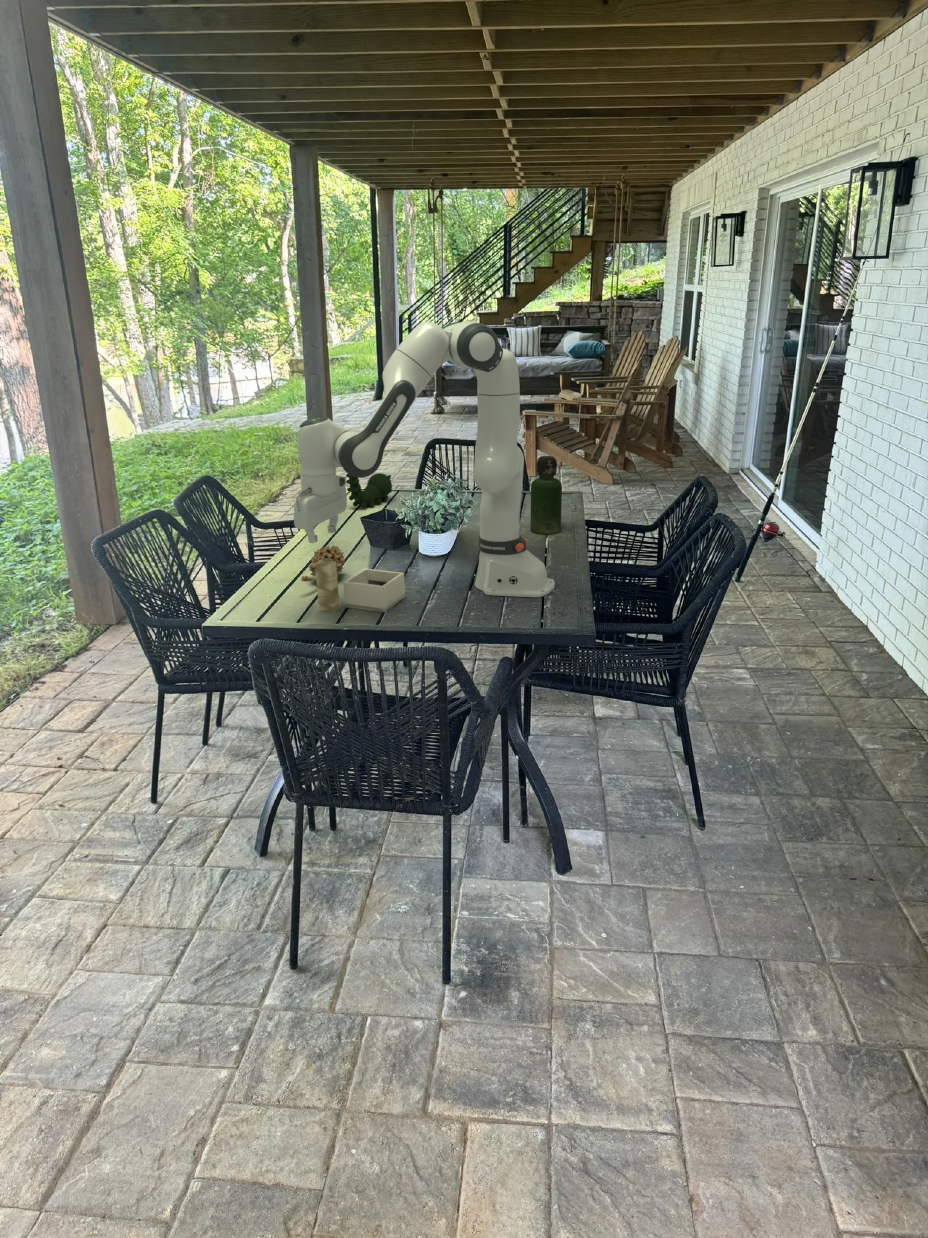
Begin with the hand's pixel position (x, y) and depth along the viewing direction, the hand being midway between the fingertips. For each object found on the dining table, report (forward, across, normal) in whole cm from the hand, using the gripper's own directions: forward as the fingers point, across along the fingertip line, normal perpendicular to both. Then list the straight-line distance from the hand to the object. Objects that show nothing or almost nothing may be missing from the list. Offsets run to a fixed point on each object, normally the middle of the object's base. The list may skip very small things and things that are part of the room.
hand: (322, 537), depth 221 cm
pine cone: (+20, +17, +12) cm, 29 cm away
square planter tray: (+20, +9, -9) cm, 24 cm away
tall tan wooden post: (+20, 0, 0) cm, 20 cm away
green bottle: (+20, +90, -32) cm, 98 cm away
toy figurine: (+20, +104, +42) cm, 114 cm away
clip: (+20, +9, -9) cm, 24 cm away
